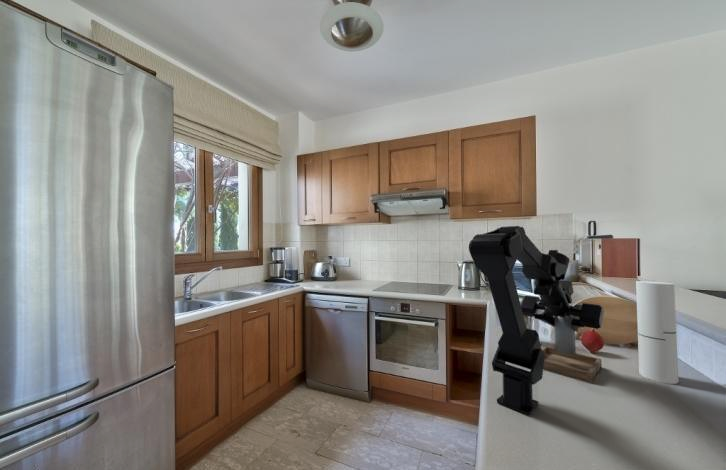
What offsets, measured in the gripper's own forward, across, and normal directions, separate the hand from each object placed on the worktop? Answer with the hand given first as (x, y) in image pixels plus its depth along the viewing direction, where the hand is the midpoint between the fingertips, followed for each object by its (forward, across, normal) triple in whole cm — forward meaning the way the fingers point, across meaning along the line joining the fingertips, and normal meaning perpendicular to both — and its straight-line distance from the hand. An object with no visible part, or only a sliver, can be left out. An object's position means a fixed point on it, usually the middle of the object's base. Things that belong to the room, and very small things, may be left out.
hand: (566, 328), depth 81 cm
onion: (+21, -2, -6) cm, 22 cm away
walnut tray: (+7, 0, +8) cm, 11 cm away
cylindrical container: (+16, -17, 0) cm, 23 cm away
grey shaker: (+4, 0, +6) cm, 7 cm away
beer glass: (+17, +17, -1) cm, 24 cm away
